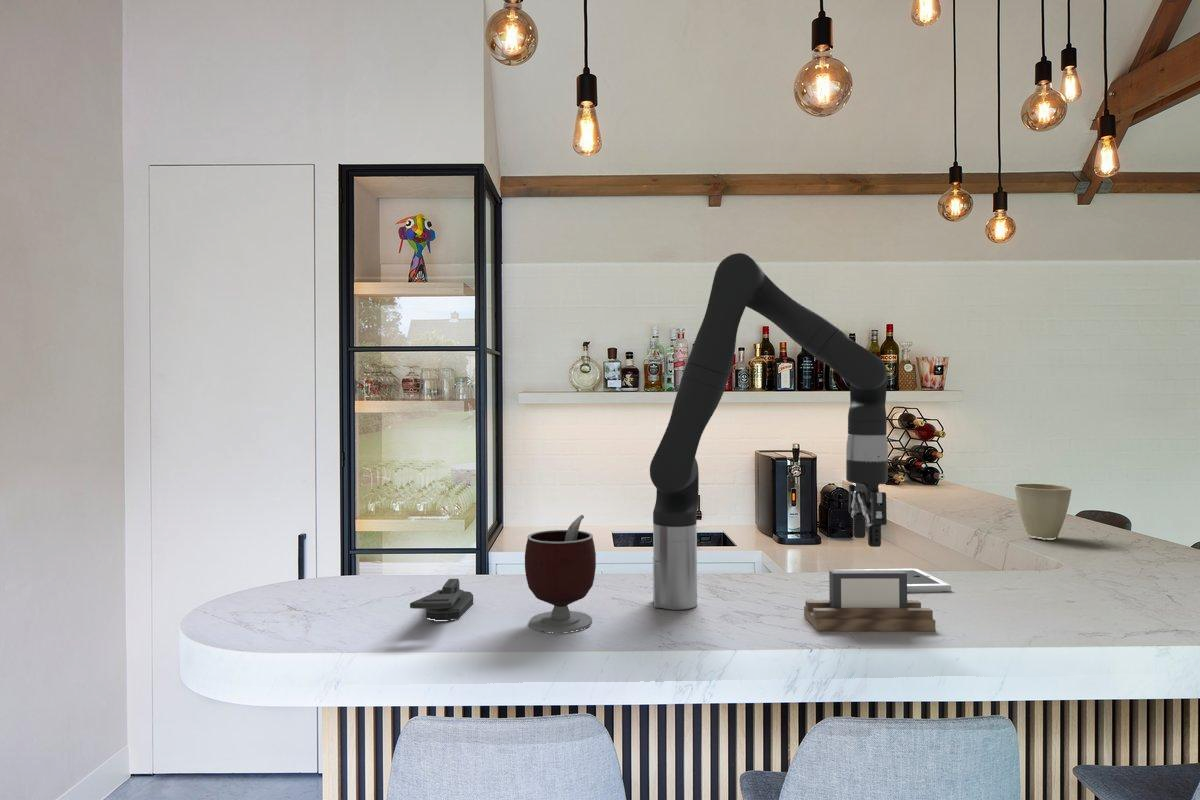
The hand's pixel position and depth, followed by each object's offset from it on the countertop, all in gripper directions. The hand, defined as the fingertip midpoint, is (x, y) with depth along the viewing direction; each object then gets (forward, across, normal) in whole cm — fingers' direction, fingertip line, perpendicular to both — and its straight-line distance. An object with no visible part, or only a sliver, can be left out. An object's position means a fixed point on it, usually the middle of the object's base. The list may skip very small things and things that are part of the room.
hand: (866, 541), depth 138 cm
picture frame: (+17, +30, -16) cm, 38 cm away
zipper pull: (+17, +4, +83) cm, 85 cm away
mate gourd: (+17, +1, +59) cm, 61 cm away
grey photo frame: (+14, 0, 0) cm, 14 cm away
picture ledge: (+16, 0, 0) cm, 16 cm away
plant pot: (+15, +83, -82) cm, 118 cm away
